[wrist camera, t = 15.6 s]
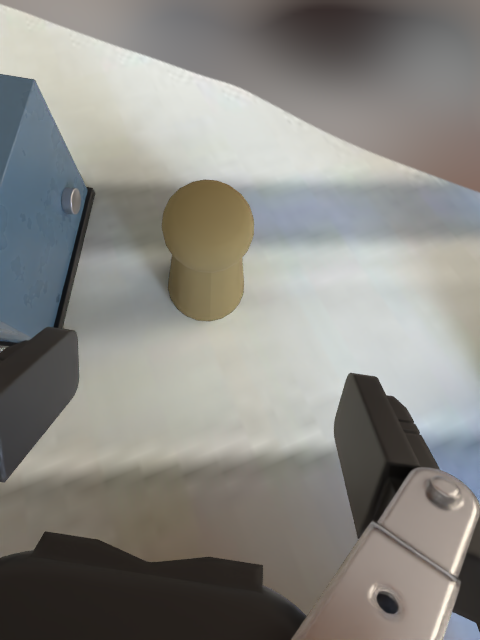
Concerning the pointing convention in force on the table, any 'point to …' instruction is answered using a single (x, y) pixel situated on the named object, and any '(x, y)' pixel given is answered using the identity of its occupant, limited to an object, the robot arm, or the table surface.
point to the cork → (207, 248)
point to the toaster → (36, 214)
